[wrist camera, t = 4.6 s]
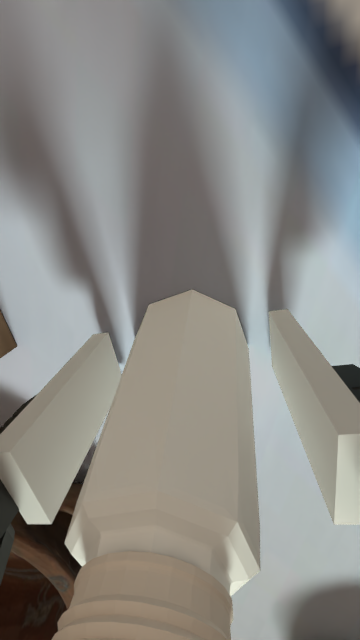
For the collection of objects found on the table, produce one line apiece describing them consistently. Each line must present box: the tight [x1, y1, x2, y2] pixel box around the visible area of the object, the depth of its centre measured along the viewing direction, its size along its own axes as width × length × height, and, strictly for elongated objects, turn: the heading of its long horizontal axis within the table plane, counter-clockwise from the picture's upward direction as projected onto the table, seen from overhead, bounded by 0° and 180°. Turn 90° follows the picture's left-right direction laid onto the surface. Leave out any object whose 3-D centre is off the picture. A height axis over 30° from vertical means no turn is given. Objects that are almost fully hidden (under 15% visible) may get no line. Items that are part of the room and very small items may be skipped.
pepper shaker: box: [52, 290, 260, 640], centre depth 8 cm, size 5×5×11 cm
